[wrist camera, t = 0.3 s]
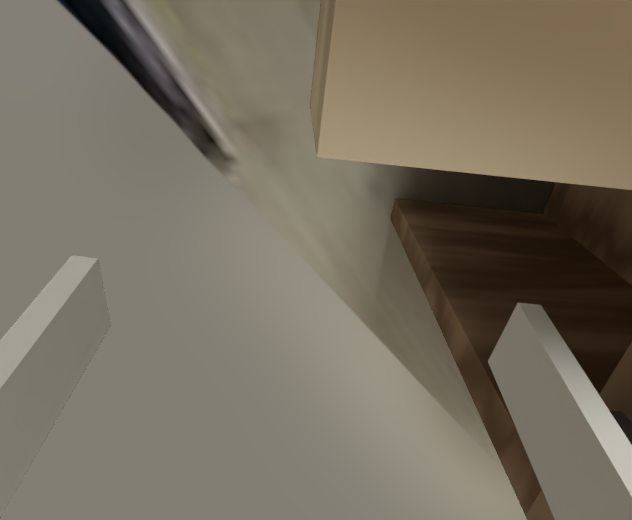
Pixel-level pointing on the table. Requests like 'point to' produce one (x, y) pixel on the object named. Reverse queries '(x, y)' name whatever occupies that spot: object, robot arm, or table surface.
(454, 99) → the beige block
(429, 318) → the table surface
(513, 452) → the wooden tower
